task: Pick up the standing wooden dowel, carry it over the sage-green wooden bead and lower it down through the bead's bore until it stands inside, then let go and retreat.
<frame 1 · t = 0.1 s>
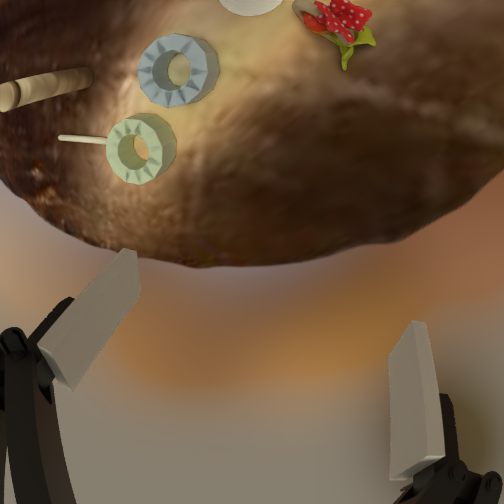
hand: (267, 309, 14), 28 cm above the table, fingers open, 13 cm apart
bead: (147, 144, 41), on the table
blue bead: (185, 69, 34), on the table
red green lumpy piece: (331, 33, 29), on the table
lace: (88, 138, 43), on the table
wooden dowel: (85, 77, 37), on the table
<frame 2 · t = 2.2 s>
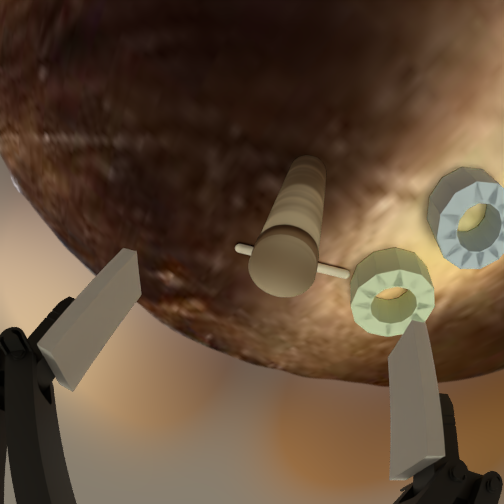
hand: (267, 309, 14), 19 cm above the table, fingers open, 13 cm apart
bead: (390, 282, 33), on the table
blue bead: (466, 209, 27), on the table
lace: (293, 258, 35), on the table
wooden dowel: (308, 172, 29), on the table
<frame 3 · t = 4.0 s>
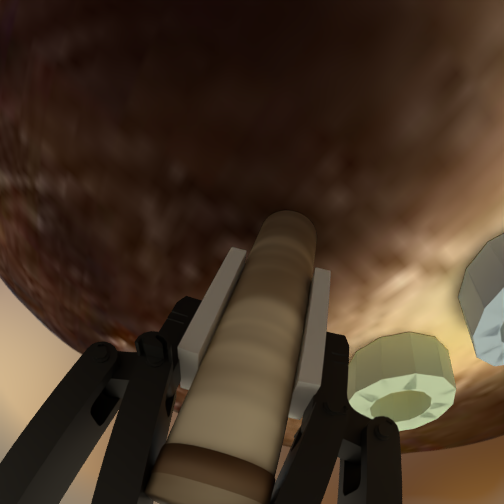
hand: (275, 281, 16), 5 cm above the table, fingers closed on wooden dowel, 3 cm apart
bead: (398, 368, 24), on the table
wooden dowel: (288, 236, 20), on the table, touching gripper
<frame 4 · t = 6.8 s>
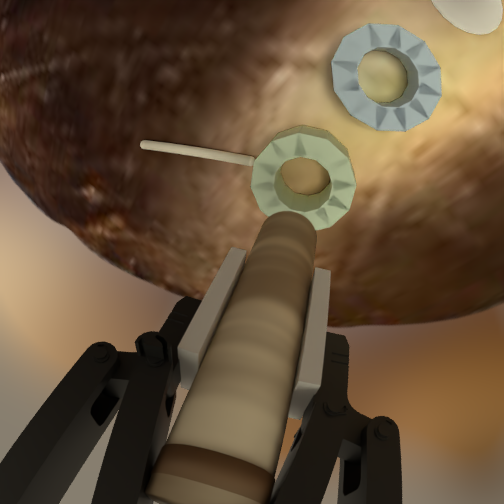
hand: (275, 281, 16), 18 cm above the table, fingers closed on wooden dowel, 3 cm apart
bead: (306, 171, 30), on the table
blue bead: (381, 76, 23), on the table
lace: (196, 150, 32), on the table
wooden dowel: (288, 236, 20), point 13 cm above the table, touching gripper
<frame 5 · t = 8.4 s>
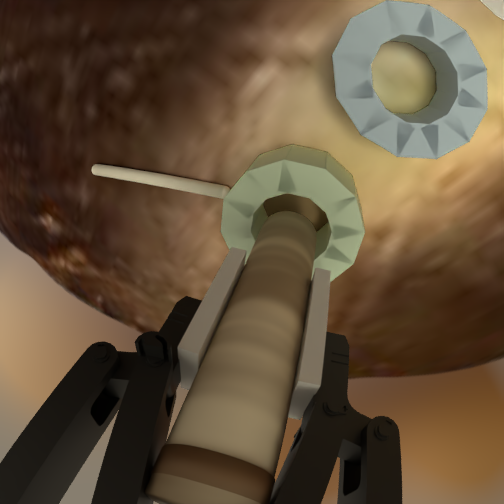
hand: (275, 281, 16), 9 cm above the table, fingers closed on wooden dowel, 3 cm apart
bead: (297, 205, 23), on the table
blue bead: (401, 77, 16), on the table
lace: (156, 176, 25), on the table
wooden dowel: (288, 236, 20), point 4 cm above the table, touching gripper
when the fingers open (7 cm above the table, at t = 9.7 s): wooden dowel drops 2 cm, resting in bead.
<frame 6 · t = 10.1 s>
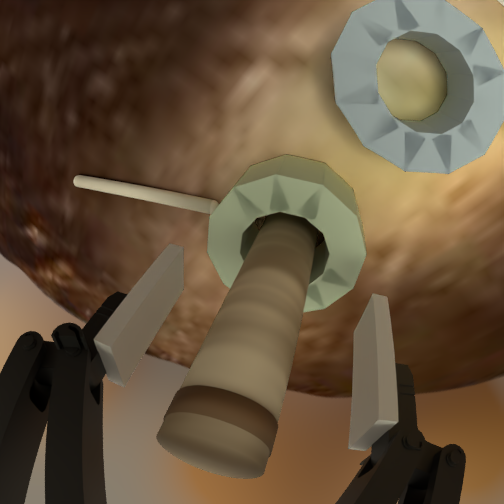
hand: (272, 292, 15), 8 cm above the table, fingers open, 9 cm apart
bead: (292, 221, 21), on the table
blue bead: (408, 79, 14), on the table
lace: (140, 189, 23), on the table
wooden dowel: (293, 222, 21), resting in bead
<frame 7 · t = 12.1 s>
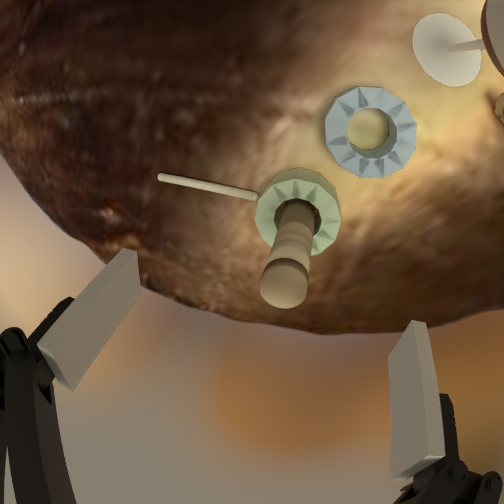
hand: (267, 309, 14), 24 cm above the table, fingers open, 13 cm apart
wineglass: (448, 49, 23), on the table
bead: (300, 206, 37), on the table
blue bead: (366, 127, 30), on the table
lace: (207, 184, 38), on the table
wooden dowel: (300, 206, 37), resting in bead
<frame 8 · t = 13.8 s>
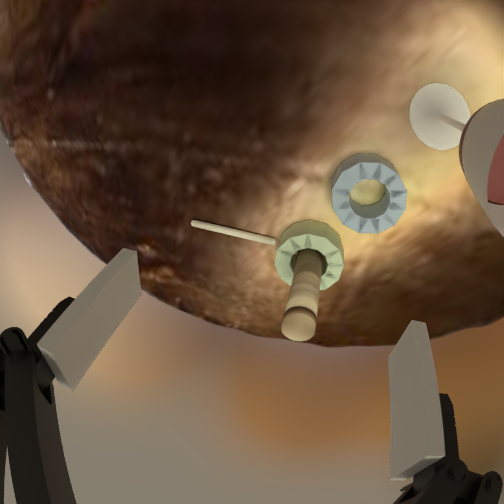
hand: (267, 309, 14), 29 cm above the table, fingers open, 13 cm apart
wineglass: (440, 116, 31), on the table
bead: (311, 248, 45), on the table
blue bead: (366, 187, 38), on the table
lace: (233, 230, 46), on the table
wooden dowel: (311, 249, 45), resting in bead
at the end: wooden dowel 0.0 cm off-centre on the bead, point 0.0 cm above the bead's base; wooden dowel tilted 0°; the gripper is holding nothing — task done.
